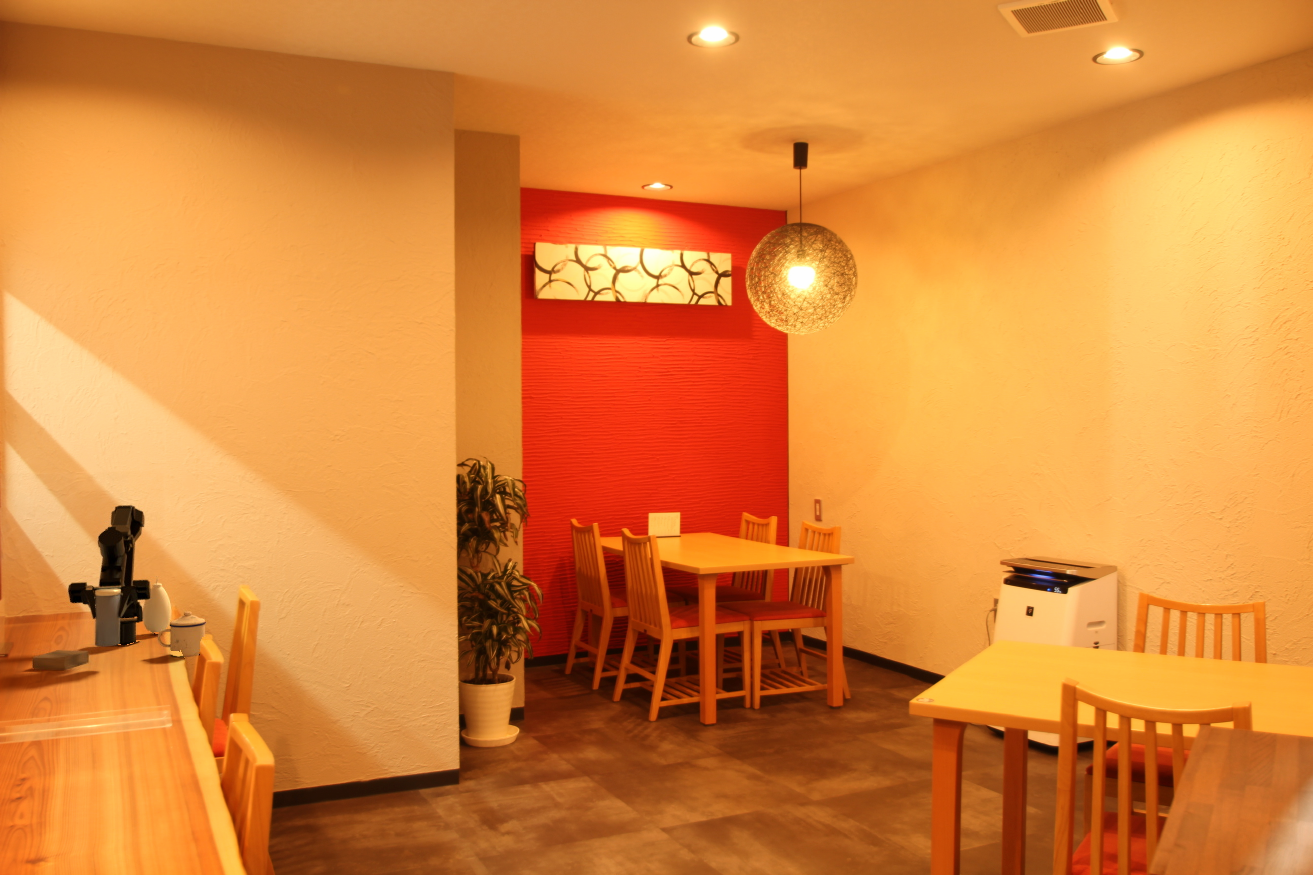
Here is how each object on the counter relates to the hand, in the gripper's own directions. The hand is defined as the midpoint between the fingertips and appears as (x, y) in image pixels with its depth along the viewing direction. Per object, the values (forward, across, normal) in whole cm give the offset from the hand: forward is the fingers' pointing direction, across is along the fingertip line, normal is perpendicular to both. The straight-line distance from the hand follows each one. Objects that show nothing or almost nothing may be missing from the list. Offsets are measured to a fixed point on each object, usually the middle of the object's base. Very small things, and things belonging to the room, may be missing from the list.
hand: (106, 617), depth 255 cm
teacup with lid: (+1, -17, -19) cm, 25 cm away
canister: (+4, 0, -6) cm, 7 cm away
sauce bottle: (-23, -8, -43) cm, 50 cm away
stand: (+3, +12, -16) cm, 20 cm away
